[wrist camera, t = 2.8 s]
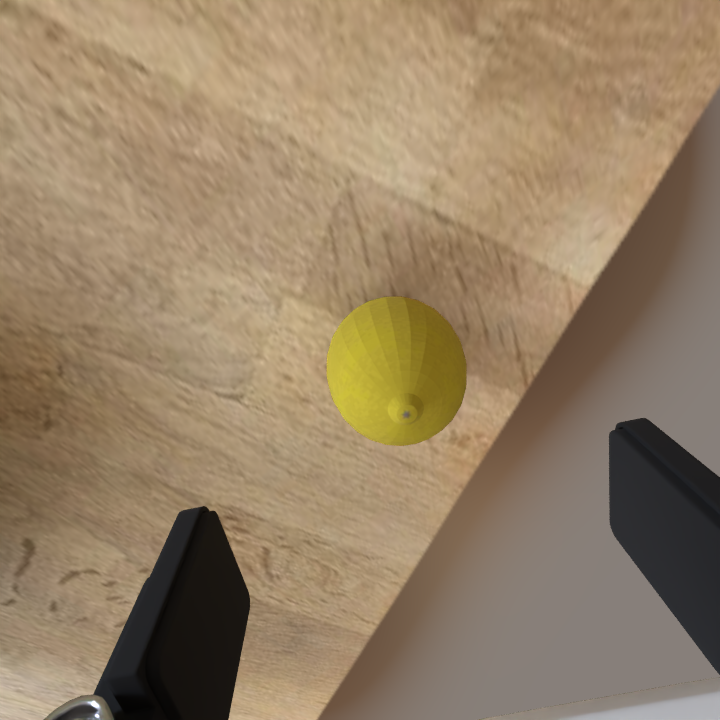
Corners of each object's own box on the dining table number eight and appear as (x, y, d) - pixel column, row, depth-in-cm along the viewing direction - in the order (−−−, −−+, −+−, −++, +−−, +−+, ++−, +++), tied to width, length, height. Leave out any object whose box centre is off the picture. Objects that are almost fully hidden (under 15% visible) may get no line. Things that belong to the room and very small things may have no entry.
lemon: (362, 257, 22) (372, 304, 14) (465, 311, 23) (525, 381, 15) (309, 358, 23) (293, 447, 16) (407, 403, 24) (436, 507, 17)
